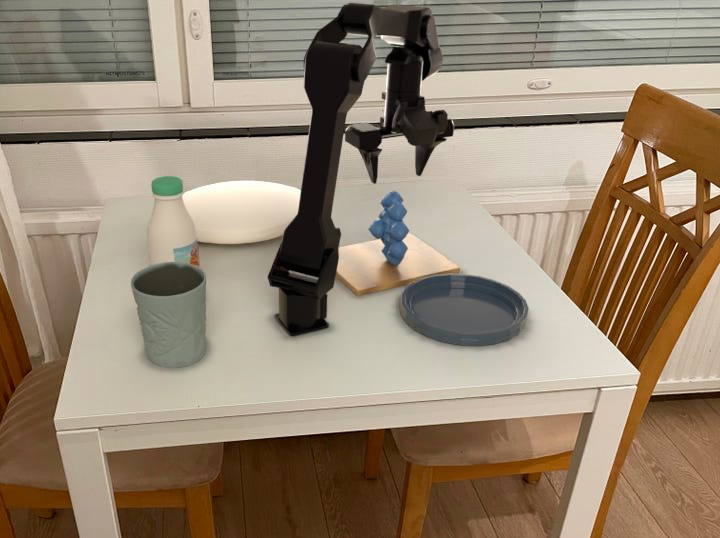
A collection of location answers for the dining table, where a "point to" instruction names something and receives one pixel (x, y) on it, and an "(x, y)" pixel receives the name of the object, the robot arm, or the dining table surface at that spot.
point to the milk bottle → (171, 225)
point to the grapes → (391, 228)
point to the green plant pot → (172, 312)
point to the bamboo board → (388, 265)
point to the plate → (241, 211)
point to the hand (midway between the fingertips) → (396, 179)
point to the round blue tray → (463, 309)
